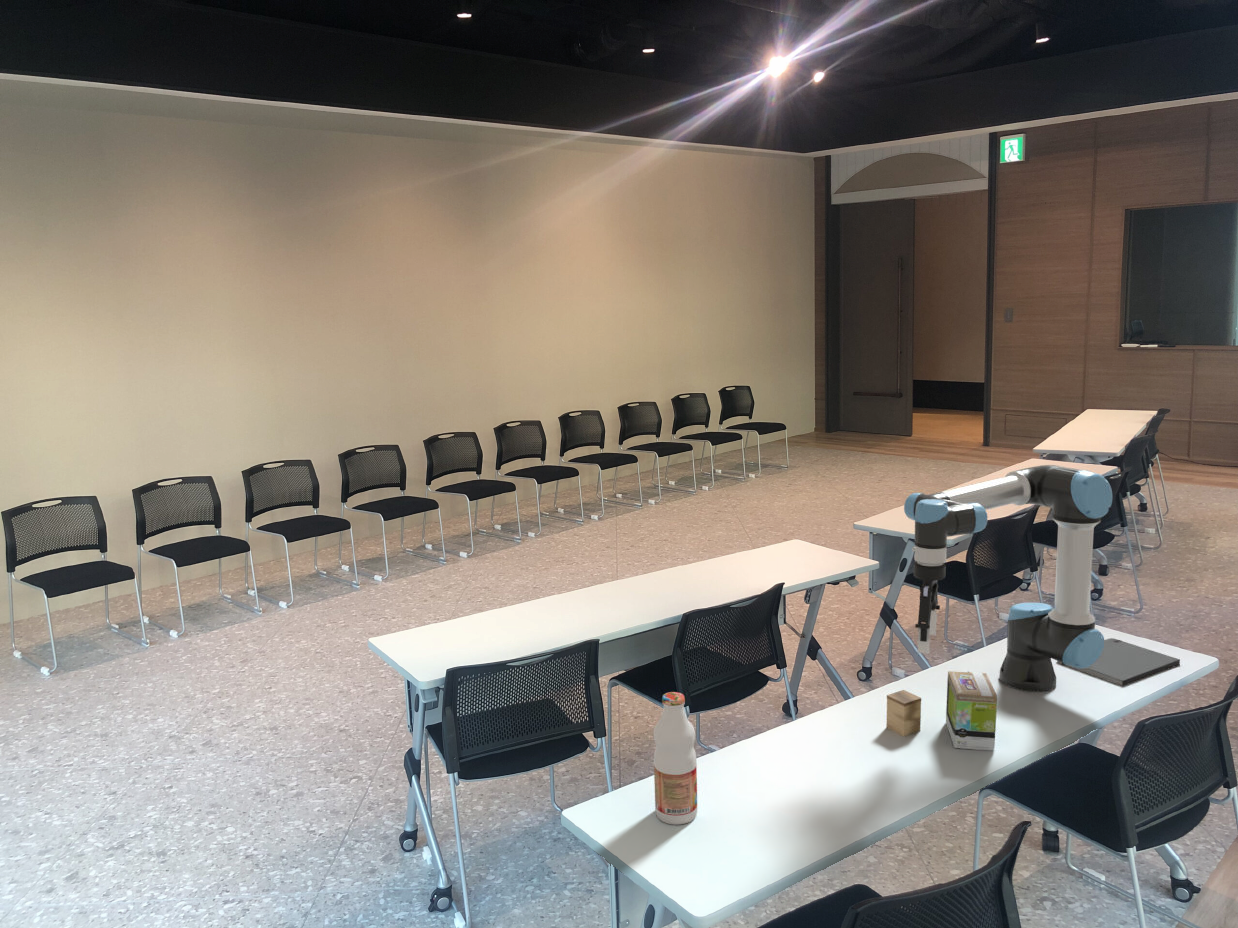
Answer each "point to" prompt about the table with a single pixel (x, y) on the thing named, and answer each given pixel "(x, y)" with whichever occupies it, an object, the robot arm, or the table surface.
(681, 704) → the fruit juice
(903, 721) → the oak block
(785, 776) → the table surface
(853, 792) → the table surface
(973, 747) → the tea box
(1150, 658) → the notebook
